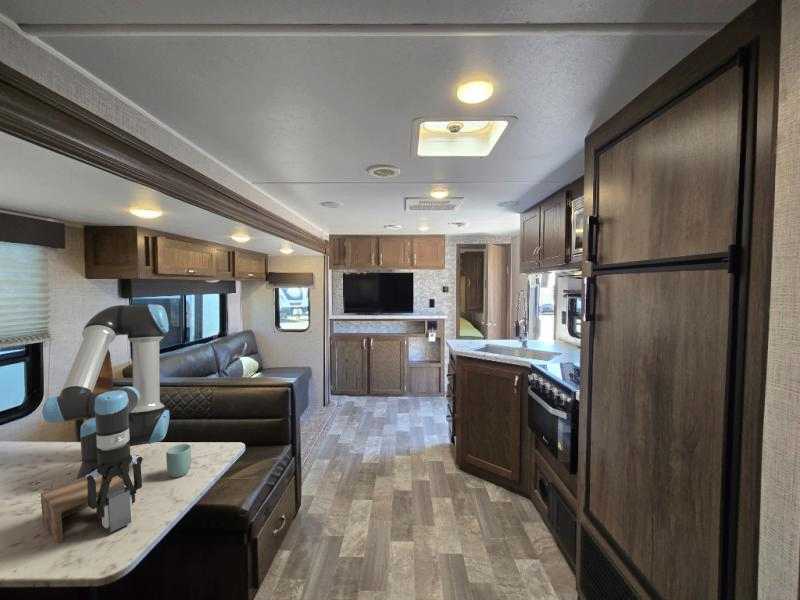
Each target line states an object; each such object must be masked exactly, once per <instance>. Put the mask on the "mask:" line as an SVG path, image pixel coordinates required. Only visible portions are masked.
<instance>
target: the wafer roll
mask: <svg viewBox="0 0 800 600" xmlns="http://www.w3.org/2000/svg"><path fill="white" fill-rule="evenodd" d="M113 378H114V377H113V368H112V359H111V351H110V349H109V348H108V350H107V353H106V356H105V359H104V361H103V364H102V367H101V370H100V373H99V376H98V378H97V381H96V384H95V387H94V390H93V393H99V392H107V391H114V381H113V380H114V379H113ZM89 419H90V418H86V419H82V420H83V423H84V422H85V421H87V420H89Z"/></svg>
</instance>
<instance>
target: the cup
mask: <svg viewBox="0 0 800 600" xmlns="http://www.w3.org/2000/svg"><path fill="white" fill-rule="evenodd" d="M165 452H166V453H165V454H166V455H165V457H166V458H165V459H166V460H165V461H166V469H167V473H168V475H169V476H170V477H172V478H181V477H182V476H183V477H184V476H185V475H186V474H188V472H189V471H190V469H191V465H192V447H191V445H190V444H188V443H187V444H186V443H183V444H182V443H181V444H177V445H174V446H171V447H170V448H168V449H167V450H166V451H165Z"/></svg>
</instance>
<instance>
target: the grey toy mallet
mask: <svg viewBox="0 0 800 600" xmlns="http://www.w3.org/2000/svg"><path fill="white" fill-rule="evenodd" d="M105 504H107V505H108V517H109V527H108V528H106V529H107V530H108V532H109V533H112V532H115V531H116V530H119V529H121V528H123V527H125V526H126V525H129V524H131V523H132V516H131V506H130V490H128V489H127V488H126V486H123V485H122V486H119V487H117V488H115V489H112V490H110V491H108V493H107V497H106V501H105ZM95 511H96V513H97V508H95Z"/></svg>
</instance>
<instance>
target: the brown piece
mask: <svg viewBox="0 0 800 600" xmlns="http://www.w3.org/2000/svg"><path fill="white" fill-rule="evenodd" d="M76 479H77V478H76ZM76 479H75V480H72V481H70V482H67V483H64V484H62V485H59V486H56V487H54V488H51V489H48V490H45V491H43V492H40V501H41V503H40V504H41V520H42V526H43V528H45V530H46V531H47V532H48V533H49V534H50V535H51V537H52V538H53V540H55V542H56V543H57V544H60V543H62V542H64V537H63V536H64V535H63V521H62V519H64V518H67V517H68V516H71V515H73V514H75V513H77V512H80V511H82V510H85V509H87V508H90V507H89V506H88V488H87V481H86V479H85V477H83V478H80V479H77V480H76ZM95 482H96V501H97V498H98V494H99V490H100V486H101V482H102V475H101V474H99V473H98V474H97V478H96V480H95ZM122 485H123V486H124V487H126V486H125V484H124V481H123V479H122V478H120V477H118V476H115V477H113V478H112V481H111V482H110V485H109V489H108V491H110V490H112V489H115V488H117V487H119V486H122Z"/></svg>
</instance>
